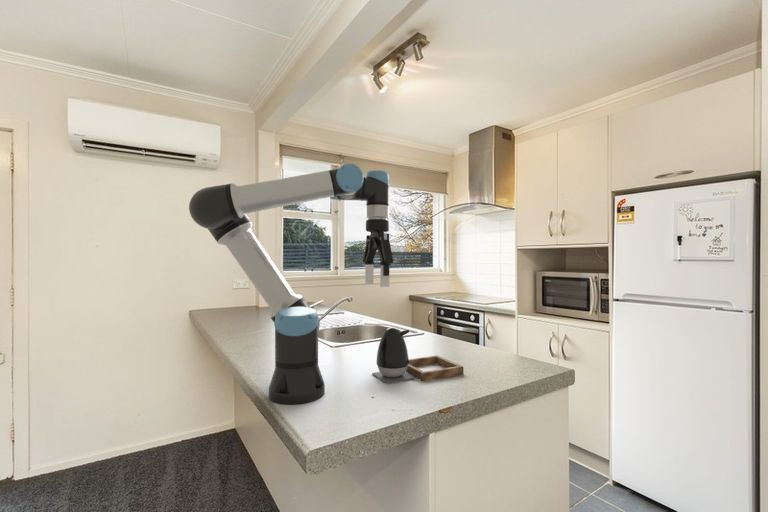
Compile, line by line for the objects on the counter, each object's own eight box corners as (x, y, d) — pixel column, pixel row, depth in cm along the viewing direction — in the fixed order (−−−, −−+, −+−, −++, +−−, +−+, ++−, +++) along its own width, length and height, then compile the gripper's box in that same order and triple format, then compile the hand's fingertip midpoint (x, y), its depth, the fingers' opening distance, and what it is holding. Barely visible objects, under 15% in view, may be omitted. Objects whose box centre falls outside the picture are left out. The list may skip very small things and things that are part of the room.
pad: (385, 384, 111) (385, 382, 111) (372, 374, 120) (372, 372, 120) (414, 379, 115) (414, 377, 115) (399, 370, 124) (399, 368, 124)
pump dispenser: (410, 380, 112) (410, 330, 112) (375, 380, 113) (375, 330, 113) (408, 370, 123) (408, 324, 123) (377, 370, 123) (376, 324, 123)
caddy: (422, 381, 113) (422, 373, 113) (398, 368, 127) (398, 360, 127) (463, 374, 120) (463, 366, 120) (436, 362, 134) (436, 355, 134)
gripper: (404, 216, 111) (403, 287, 110) (374, 223, 134) (373, 282, 133) (381, 214, 108) (380, 288, 107) (354, 222, 131) (353, 282, 130)
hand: (376, 285), depth 120 cm, fingers open, 13 cm apart
